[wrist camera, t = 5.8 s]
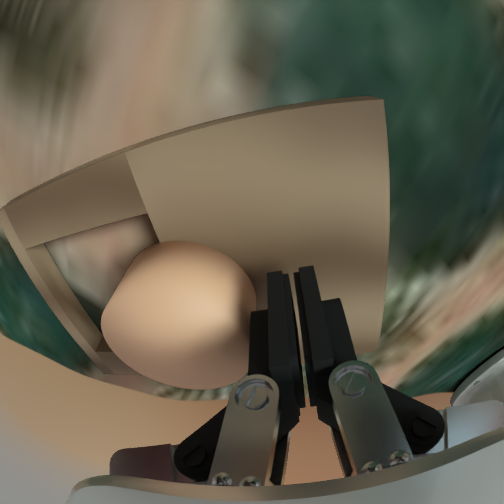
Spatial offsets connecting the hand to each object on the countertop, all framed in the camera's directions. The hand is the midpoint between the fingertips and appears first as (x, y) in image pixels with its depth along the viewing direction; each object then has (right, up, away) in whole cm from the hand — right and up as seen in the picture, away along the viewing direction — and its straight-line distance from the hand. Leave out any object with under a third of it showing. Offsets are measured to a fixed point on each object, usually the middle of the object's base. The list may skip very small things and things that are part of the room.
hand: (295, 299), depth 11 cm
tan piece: (-5, +1, +3) cm, 6 cm away
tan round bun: (-4, 0, +2) cm, 5 cm away
